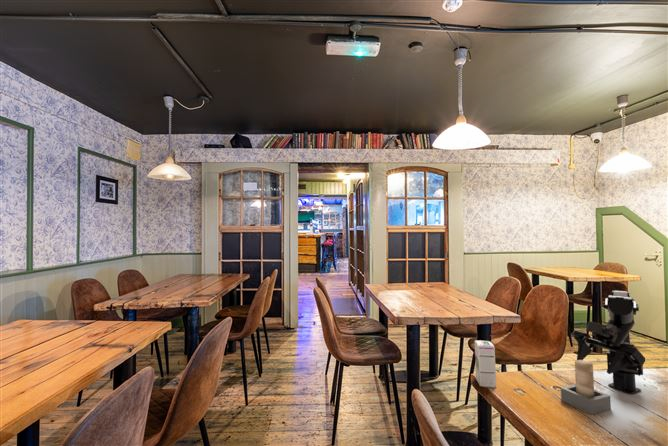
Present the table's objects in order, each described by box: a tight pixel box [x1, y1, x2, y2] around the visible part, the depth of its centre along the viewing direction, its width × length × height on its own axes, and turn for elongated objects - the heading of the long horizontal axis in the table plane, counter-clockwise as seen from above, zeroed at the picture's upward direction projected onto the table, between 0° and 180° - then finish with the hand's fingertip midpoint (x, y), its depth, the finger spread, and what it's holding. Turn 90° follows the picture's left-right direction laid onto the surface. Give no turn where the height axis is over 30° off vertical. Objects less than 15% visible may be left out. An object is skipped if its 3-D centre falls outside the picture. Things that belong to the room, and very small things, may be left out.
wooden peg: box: [574, 359, 595, 398], centre depth 99 cm, size 4×4×13 cm
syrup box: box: [474, 339, 497, 388], centre depth 113 cm, size 6×6×14 cm
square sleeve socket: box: [560, 383, 612, 416], centre depth 98 cm, size 9×9×4 cm
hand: (592, 366), depth 100 cm, fingers open, 9 cm apart
